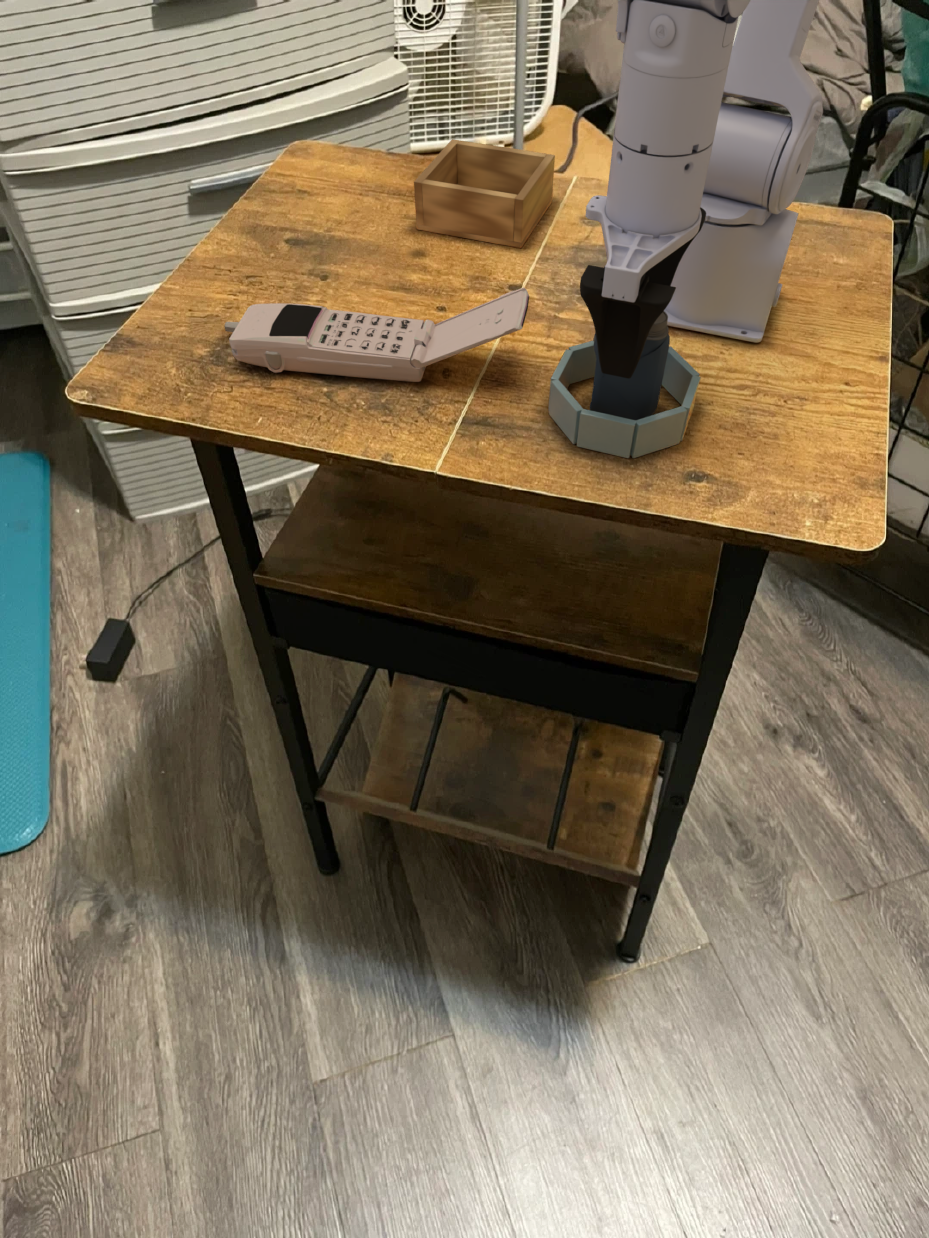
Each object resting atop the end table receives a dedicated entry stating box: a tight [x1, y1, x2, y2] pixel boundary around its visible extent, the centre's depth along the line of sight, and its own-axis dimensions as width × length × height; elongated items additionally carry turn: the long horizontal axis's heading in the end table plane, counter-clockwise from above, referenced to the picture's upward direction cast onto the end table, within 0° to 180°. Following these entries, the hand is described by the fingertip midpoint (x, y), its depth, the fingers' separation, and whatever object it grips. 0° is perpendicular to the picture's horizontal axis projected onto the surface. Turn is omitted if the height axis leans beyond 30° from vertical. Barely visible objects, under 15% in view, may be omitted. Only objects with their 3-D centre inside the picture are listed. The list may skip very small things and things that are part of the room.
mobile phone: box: [224, 287, 530, 383], centre depth 67 cm, size 6×6×25 cm
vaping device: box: [589, 266, 671, 420], centre depth 60 cm, size 3×5×12 cm, turn 73°
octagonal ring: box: [547, 340, 701, 459], centre depth 64 cm, size 10×10×3 cm
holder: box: [413, 138, 556, 249], centre depth 82 cm, size 11×10×4 cm
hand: (630, 342), depth 60 cm, fingers open, 7 cm apart
